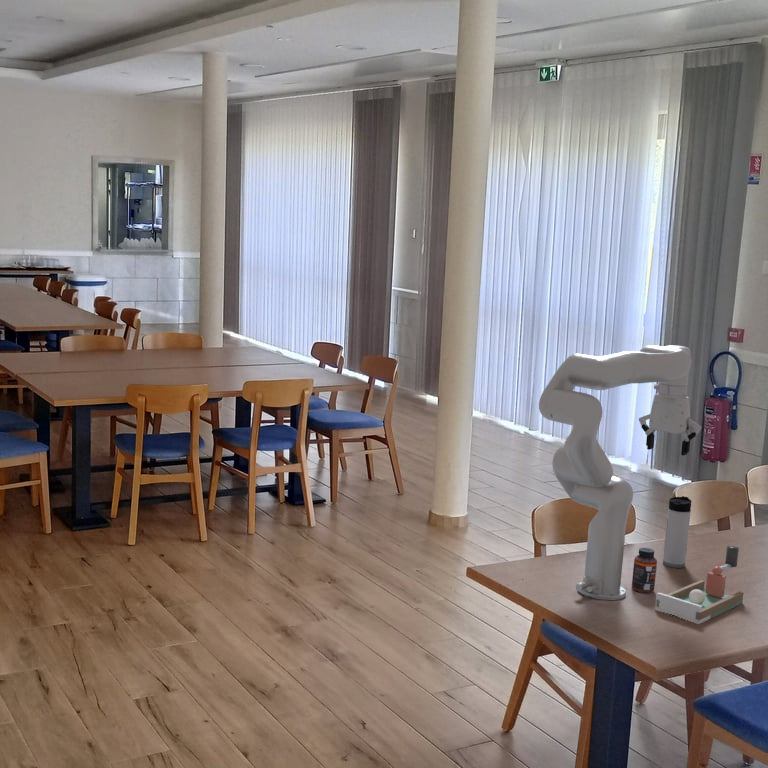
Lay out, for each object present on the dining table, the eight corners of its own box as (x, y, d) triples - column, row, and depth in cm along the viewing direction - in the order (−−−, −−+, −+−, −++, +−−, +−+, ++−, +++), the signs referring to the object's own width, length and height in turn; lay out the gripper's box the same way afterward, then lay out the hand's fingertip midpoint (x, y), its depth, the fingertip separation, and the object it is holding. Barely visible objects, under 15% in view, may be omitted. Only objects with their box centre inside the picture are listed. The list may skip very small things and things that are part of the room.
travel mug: (689, 565, 301) (696, 498, 298) (679, 569, 296) (685, 502, 293) (669, 559, 305) (676, 494, 302) (659, 564, 300) (665, 497, 297)
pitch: (698, 624, 253) (700, 606, 253) (655, 610, 261) (656, 593, 261) (742, 603, 270) (744, 586, 270) (700, 590, 279) (701, 574, 278)
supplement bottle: (652, 595, 272) (657, 554, 271) (630, 591, 274) (634, 550, 273) (655, 588, 278) (659, 548, 276) (632, 585, 280) (636, 545, 278)
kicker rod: (720, 598, 269) (724, 555, 267) (704, 593, 272) (709, 551, 270) (738, 589, 277) (743, 548, 275) (723, 585, 280) (727, 544, 278)
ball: (699, 608, 262) (701, 593, 261) (685, 604, 264) (686, 589, 264) (707, 605, 264) (708, 590, 264) (692, 600, 267) (694, 585, 267)
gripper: (637, 388, 283) (632, 448, 285) (699, 396, 273) (693, 459, 276) (647, 385, 289) (642, 444, 291) (708, 393, 279) (702, 455, 282)
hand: (667, 451), depth 283 cm, fingers open, 9 cm apart
